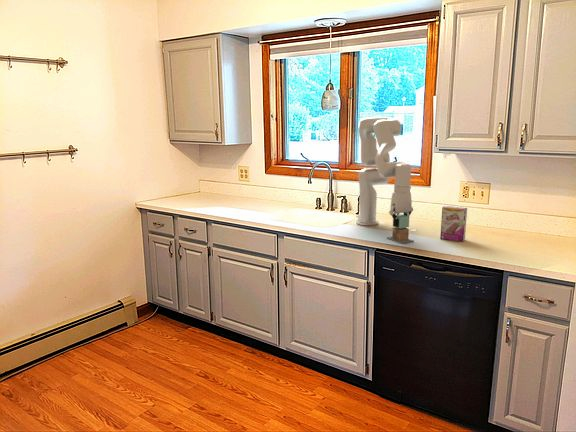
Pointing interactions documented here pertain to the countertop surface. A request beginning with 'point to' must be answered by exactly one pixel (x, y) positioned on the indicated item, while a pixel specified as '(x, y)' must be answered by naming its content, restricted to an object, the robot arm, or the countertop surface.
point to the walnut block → (400, 234)
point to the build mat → (401, 241)
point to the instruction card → (411, 229)
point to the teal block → (403, 221)
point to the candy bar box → (453, 223)
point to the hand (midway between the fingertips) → (400, 225)
